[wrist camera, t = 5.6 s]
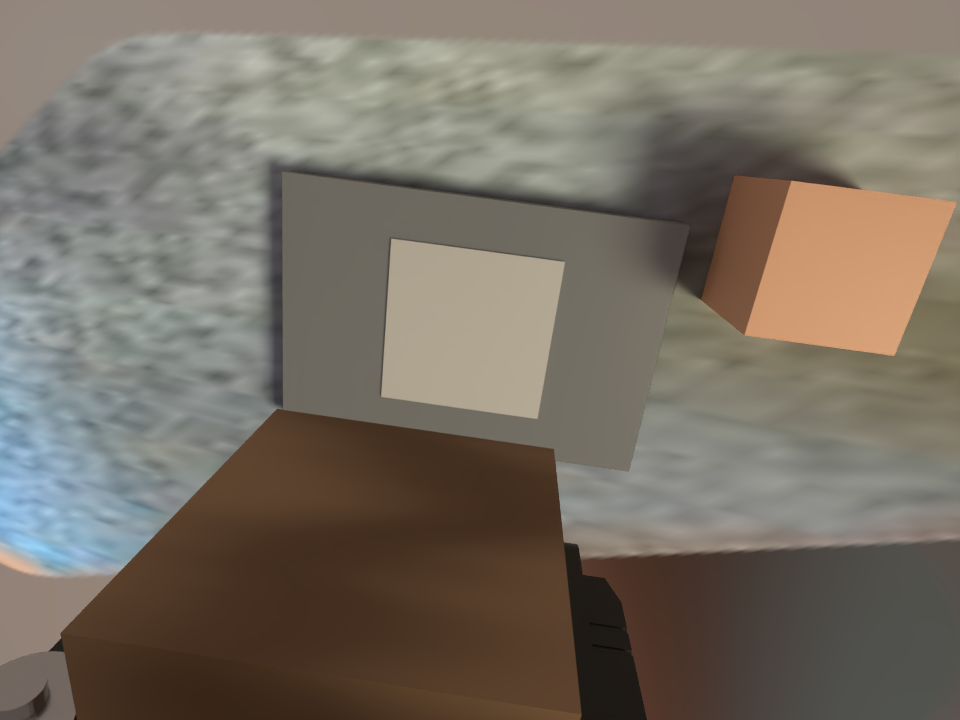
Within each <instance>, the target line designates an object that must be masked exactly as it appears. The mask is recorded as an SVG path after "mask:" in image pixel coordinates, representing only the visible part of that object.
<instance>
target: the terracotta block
mask: <svg viewBox="0 0 960 720" xmlns="http://www.w3.org/2000/svg"><path fill="white" fill-rule="evenodd" d="M956 204H957V202H952V201H944V200H937V199H929V198H921V197H913V196H906V195H898V194H890V193H883V192H875V191H867V190H859V189H852V188H844V187H836V186H828V185H821V184H813V183H805V182H797V181H789V180H778V179H768V178H757V177H747V176H736V175H735V176H734V179H733V183H732V187H731V190H730V194H729V198H728V202H727V205H726V209H725V213H724V216H723V220H722V224H721V228H720V231H719V235H718V239H717V242H716V246H715V250H714V254H713V257H712V261H711V265H710V268H709V272H708V276H707V280H706V283H705V287H704V291H703V295H702V298H701V300H702V301H703V302H704V303H706V304H707V305H708V306H709V307H711V308H712V309H713V310H714V311H715V312H717V313H718V314H719V315H720V316H722V317H723V318H724V319H725V320H726V321H728V322H729V323H730V324H731V325H733V326H734V327H735V328H736V329H737V330H739V331H740V332H741V333H742V334H744V335H747V336H754V337H761V338H768V339H776V340H783V341H790V342H798V343H805V344H812V345H820V346H827V347H834V348H841V349H849V350H856V351H863V352H871V353H878V354H885V355H893V356H894V355H895V353H896V350H897V348H898V346H899V343H900V341H901V338H902V336H903V333H904V331H905V329H906V326H907V324H908V321H909V319H910V316H911V314H912V311H913V309H914V307H915V304H916V302H917V299H918V297H919V294H920V292H921V289H922V287H923V285H924V282H925V280H926V277H927V275H928V272H929V270H930V267H931V265H932V263H933V260H934V258H935V255H936V253H937V250H938V248H939V245H940V243H941V241H942V238H943V236H944V233H945V231H946V228H947V226H948V223H949V221H950V219H951V216H952V214H953V211H954V209H955V206H956Z"/></svg>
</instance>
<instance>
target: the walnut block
mask: <svg viewBox="0 0 960 720" xmlns="http://www.w3.org/2000/svg"><path fill="white" fill-rule="evenodd" d="M61 638H62V643H63V649H64V654H65V659H66V664H67V670H68V675H69V680H70V685H71V691H72V696H73V701H74V706H75V711H76V717H77V720H580V719H581V715H582V714H581V704H580V695H579V685H578V675H577V666H576V656H575V647H574V637H573V627H572V618H571V608H570V598H569V589H568V579H567V570H566V560H565V550H564V541H563V531H562V522H561V512H560V502H559V493H558V483H557V474H556V464H555V454H554V449H551V448H544V447H537V446H530V445H523V444H516V443H510V442H503V441H496V440H489V439H482V438H475V437H468V436H461V435H454V434H447V433H440V432H433V431H426V430H419V429H413V428H406V427H399V426H392V425H385V424H378V423H371V422H364V421H357V420H350V419H343V418H336V417H329V416H322V415H315V414H309V413H302V412H295V411H288V410H281V409H277V410H276V411H275V412H274V413H273V414H272V415H271V416H270V417H269V418H268V419H267V420H266V421H265V422H264V423H263V424H262V425H261V426H260V427H259V428H258V429H257V430H256V431H255V432H254V433H253V435H252V436H251V437H250V438H249V439H248V440H247V441H246V442H245V443H244V444H243V445H242V446H241V447H240V448H239V449H238V450H237V451H236V452H235V453H234V454H233V455H232V456H231V457H230V458H229V459H228V460H227V461H226V462H225V463H224V465H223V466H222V467H221V468H220V469H219V470H218V471H217V472H216V473H215V474H214V475H213V476H212V477H211V478H210V479H209V480H208V481H207V482H206V483H205V484H204V485H203V486H202V487H201V488H200V489H199V490H198V491H197V492H196V494H195V495H194V496H193V497H192V498H191V499H190V500H189V501H188V502H187V503H186V504H185V505H184V506H183V507H182V508H181V509H180V510H179V511H178V512H177V513H176V514H175V515H174V516H173V517H172V518H171V519H170V520H169V521H168V522H167V524H166V525H165V526H164V527H163V528H162V529H161V530H160V531H159V532H158V533H157V534H156V535H155V536H154V537H153V538H152V539H151V540H150V541H149V542H148V543H147V544H146V545H145V546H144V547H143V548H142V549H141V550H140V551H139V553H138V554H137V555H136V556H135V557H134V558H133V559H132V560H131V561H130V562H129V563H128V564H127V565H126V566H125V567H124V568H123V569H122V570H121V571H120V572H119V573H118V574H117V575H116V576H115V577H114V578H113V579H112V581H111V582H110V583H109V584H108V585H107V586H106V587H105V588H104V589H103V590H102V591H101V592H100V593H99V594H98V595H97V596H96V597H95V598H94V599H93V600H92V601H91V602H90V603H89V604H88V605H87V606H86V607H85V609H83V610H82V612H81V613H80V614H79V615H78V616H77V617H76V618H75V619H74V620H73V621H72V622H71V623H70V624H69V625H68V626H67V627H66V628H65V629H64V630H63V631H62V632H61Z"/></svg>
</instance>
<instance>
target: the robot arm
mask: <svg viewBox="0 0 960 720" xmlns="http://www.w3.org/2000/svg"><path fill="white" fill-rule="evenodd" d="M564 550H565V560H566V570H567V579H568V589H569V598H570V608H571V618H572V627H573V637H574V647H575V656H576V666H577V675H578V685H579V695H580V704H581V714H582V715H581V719H580V720H647V718H646V714H645V709H644V705H643V700H642V696H641V691H640V686H639V682H638V677H637V672H636V668H635V663H634V659H633V656H631V651H632V650H631V645H630V640H629V636H628V633H627V627H626V622H625V617H624V613H623V608H622V604H621V601H620V600H619V598H618V597H617V595H616V594H615V592H614V591H613V590H612V588H611V587H610V585H609V584H608V582H607V581H606V580H605V578H599V577H593V576H586V575H583V574H582V568H581V560H580V553H579V548H578V545H577V544H571V543H564ZM0 720H77V717H76V711H75V706H74V701H73V696H72V691H71V685H70V680H69V675H68V670H67V664H66V659H65V654H64V649H63V643H62V638H61V639H60V641H58V642H57V643H56V644H55V646H54V647H53V648H52V649H51V650H50V651H48V652H40V653H35V654H30V655H27V656H23V657H20V658H18V659H15V660H12V661H10V662H8V663H6V664H3V665H1V666H0Z"/></svg>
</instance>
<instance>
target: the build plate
mask: <svg viewBox="0 0 960 720" xmlns="http://www.w3.org/2000/svg"><path fill="white" fill-rule="evenodd" d="M689 229H690V225H688V224H685V223H682V222H675V221H667V220H659V219H652V218H644V217H637V216H629V215H622V214H614V213H606V212H599V211H591V210H584V209H576V208H569V207H561V206H553V205H546V204H538V203H531V202H523V201H516V200H508V199H500V198H493V197H485V196H478V195H470V194H463V193H455V192H447V191H440V190H432V189H425V188H417V187H409V186H402V185H394V184H387V183H379V182H372V181H364V180H356V179H349V178H341V177H334V176H326V175H319V174H311V173H303V172H296V171H284V172H282V305H283V410H288V411H295V412H302V413H309V414H315V415H322V416H329V417H336V418H343V419H350V420H357V421H364V422H371V423H378V424H385V425H392V426H399V427H406V428H413V429H419V430H426V431H433V432H440V433H447V434H454V435H461V436H468V437H475V438H482V439H489V440H496V441H503V442H510V443H516V444H523V445H530V446H537V447H544V448H551V449H554V454H555V461H560V462H567V463H574V464H581V465H588V466H595V467H602V468H609V469H615V470H622V471H629V469H630V465H631V461H632V457H633V453H634V449H635V445H636V441H637V437H638V433H639V429H640V425H641V421H642V417H643V413H644V409H645V405H646V401H647V397H648V393H649V389H650V385H651V381H652V377H653V373H654V369H655V365H656V361H657V357H658V353H659V349H660V345H661V341H662V337H663V333H664V329H665V325H666V321H667V317H668V313H669V309H670V305H671V301H672V297H673V293H674V289H675V285H676V281H677V277H678V273H679V269H680V265H681V261H682V257H683V253H684V249H685V245H686V241H687V237H688V233H689Z"/></svg>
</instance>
